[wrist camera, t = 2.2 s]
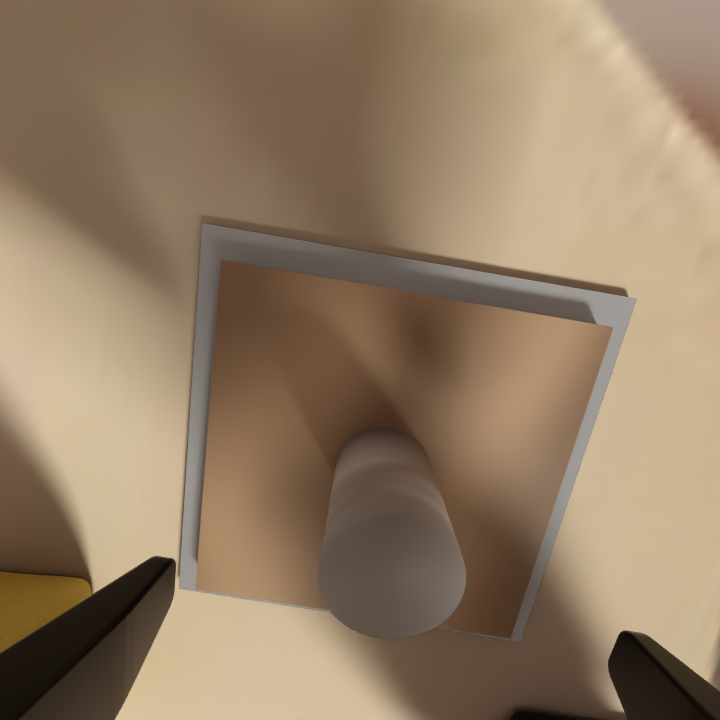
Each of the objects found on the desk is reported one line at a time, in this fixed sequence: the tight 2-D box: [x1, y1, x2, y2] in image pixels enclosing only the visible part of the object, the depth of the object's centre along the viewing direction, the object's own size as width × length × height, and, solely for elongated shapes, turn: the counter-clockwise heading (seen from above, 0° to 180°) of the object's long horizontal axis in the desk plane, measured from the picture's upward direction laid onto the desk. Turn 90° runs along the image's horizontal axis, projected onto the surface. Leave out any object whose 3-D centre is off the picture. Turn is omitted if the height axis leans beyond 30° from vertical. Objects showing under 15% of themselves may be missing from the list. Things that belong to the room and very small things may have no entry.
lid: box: [196, 260, 613, 639], centre depth 10 cm, size 12×12×5 cm
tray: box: [179, 223, 637, 642], centre depth 13 cm, size 14×14×1 cm
